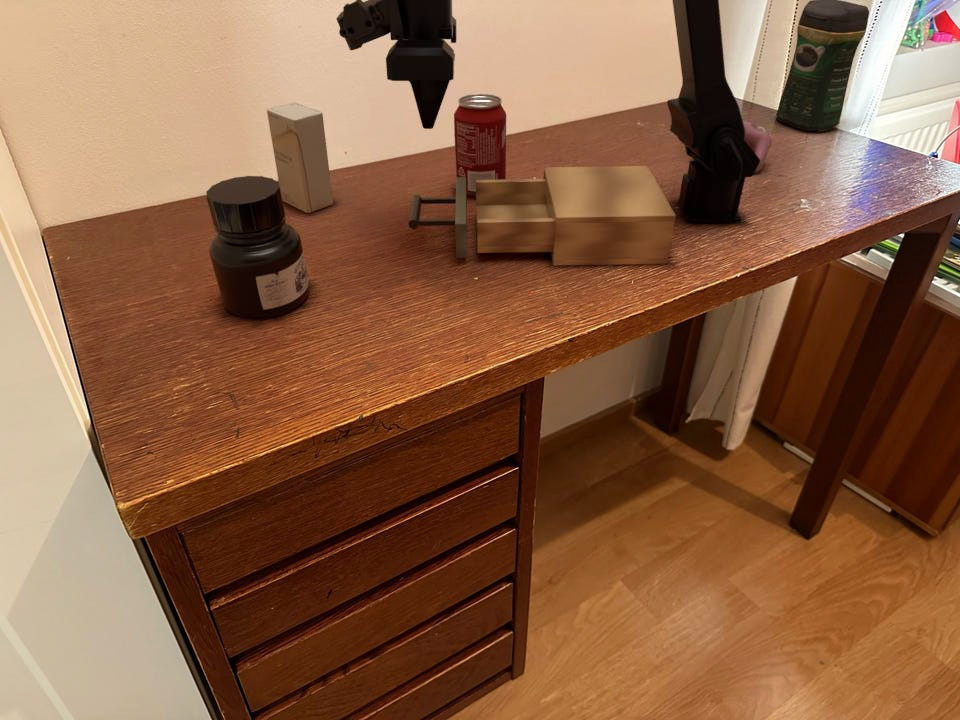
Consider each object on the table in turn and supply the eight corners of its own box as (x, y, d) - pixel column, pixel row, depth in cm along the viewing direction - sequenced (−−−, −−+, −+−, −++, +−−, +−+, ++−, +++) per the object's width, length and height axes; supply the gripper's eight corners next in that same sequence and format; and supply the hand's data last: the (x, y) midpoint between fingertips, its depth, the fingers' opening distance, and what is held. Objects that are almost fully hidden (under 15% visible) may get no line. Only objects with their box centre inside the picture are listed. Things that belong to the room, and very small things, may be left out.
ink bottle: (288, 326, 68) (265, 214, 61) (206, 318, 70) (173, 207, 62) (323, 277, 76) (306, 172, 69) (248, 271, 77) (223, 167, 70)
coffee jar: (846, 128, 114) (884, 3, 102) (809, 135, 111) (845, 8, 100) (802, 112, 121) (833, -7, 110) (766, 118, 118) (795, -3, 107)
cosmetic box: (281, 201, 92) (263, 109, 85) (308, 191, 95) (293, 101, 88) (309, 214, 89) (292, 119, 82) (336, 204, 92) (323, 110, 84)
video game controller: (762, 177, 101) (778, 128, 100) (758, 173, 97) (775, 122, 96) (696, 164, 106) (711, 117, 104) (690, 159, 102) (705, 111, 100)
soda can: (500, 201, 92) (501, 109, 85) (451, 197, 93) (447, 106, 86) (509, 181, 97) (510, 93, 90) (462, 178, 98) (460, 91, 91)
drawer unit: (553, 265, 78) (556, 217, 74) (541, 211, 89) (543, 167, 86) (667, 263, 78) (676, 215, 74) (641, 209, 89) (647, 165, 86)
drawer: (408, 258, 77) (405, 224, 75) (414, 209, 88) (412, 177, 86) (561, 256, 78) (564, 222, 75) (550, 207, 88) (552, 175, 86)
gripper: (351, -47, 74) (365, 102, 83) (321, -21, 59) (341, 158, 68) (455, -47, 74) (457, 102, 83) (451, -20, 59) (454, 158, 68)
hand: (428, 127), depth 76 cm, fingers closed
